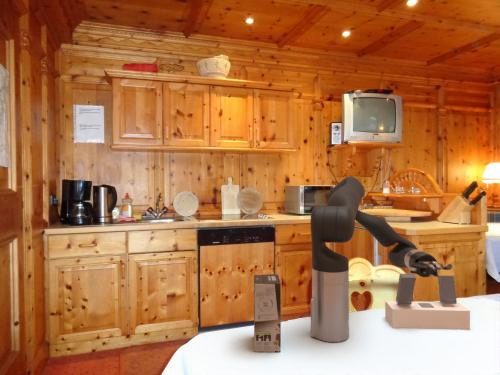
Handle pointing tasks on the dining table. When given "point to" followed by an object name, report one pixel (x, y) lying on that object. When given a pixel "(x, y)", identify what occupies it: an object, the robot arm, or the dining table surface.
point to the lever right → (446, 287)
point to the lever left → (405, 289)
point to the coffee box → (267, 313)
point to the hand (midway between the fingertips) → (444, 275)
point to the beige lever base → (427, 315)
